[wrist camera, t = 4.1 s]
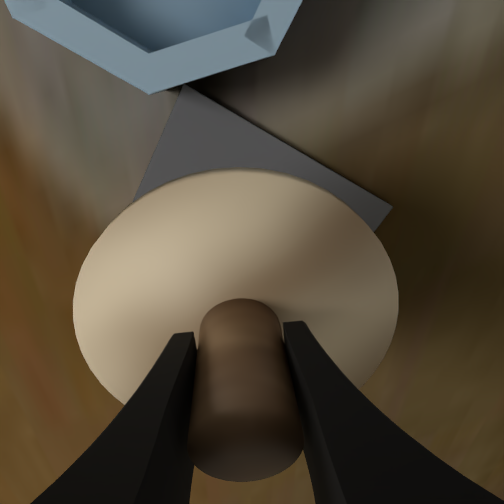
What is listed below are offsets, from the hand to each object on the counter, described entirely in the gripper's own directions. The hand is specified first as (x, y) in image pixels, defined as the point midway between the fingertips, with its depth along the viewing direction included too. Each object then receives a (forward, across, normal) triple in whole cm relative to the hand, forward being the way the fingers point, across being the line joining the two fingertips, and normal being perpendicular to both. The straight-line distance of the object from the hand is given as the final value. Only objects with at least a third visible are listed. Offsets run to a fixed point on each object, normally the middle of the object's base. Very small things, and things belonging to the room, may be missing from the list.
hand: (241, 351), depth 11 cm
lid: (+2, 0, 0) cm, 2 cm away
